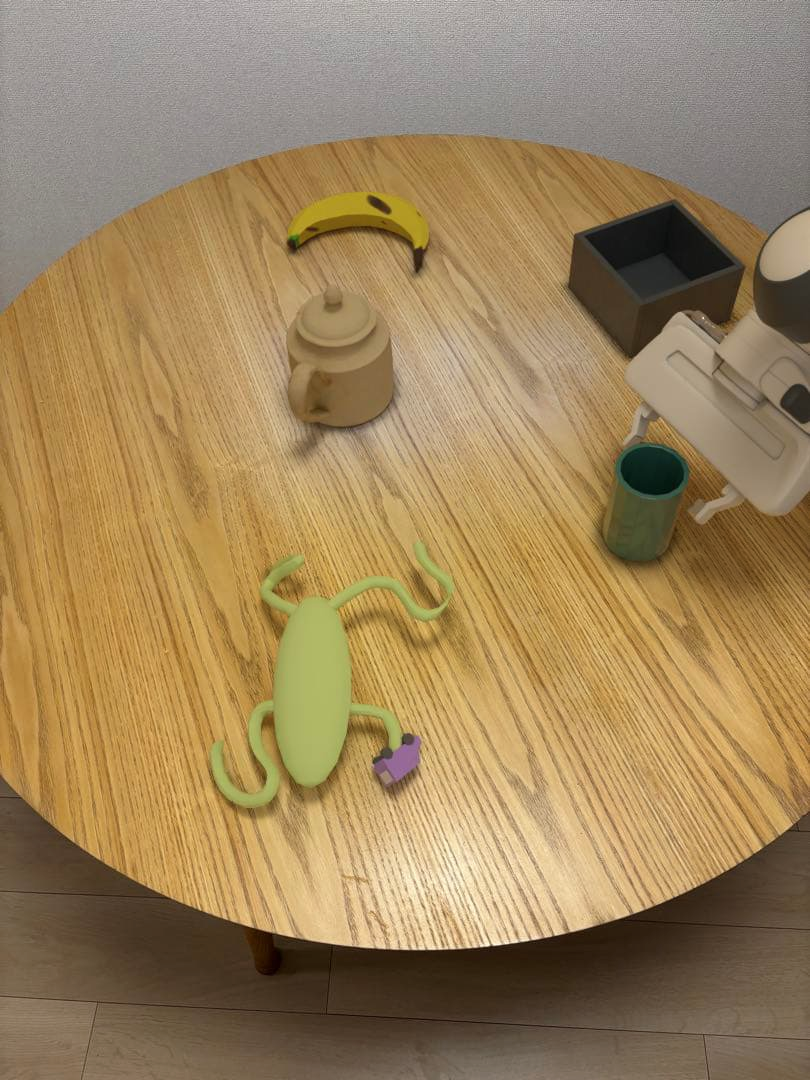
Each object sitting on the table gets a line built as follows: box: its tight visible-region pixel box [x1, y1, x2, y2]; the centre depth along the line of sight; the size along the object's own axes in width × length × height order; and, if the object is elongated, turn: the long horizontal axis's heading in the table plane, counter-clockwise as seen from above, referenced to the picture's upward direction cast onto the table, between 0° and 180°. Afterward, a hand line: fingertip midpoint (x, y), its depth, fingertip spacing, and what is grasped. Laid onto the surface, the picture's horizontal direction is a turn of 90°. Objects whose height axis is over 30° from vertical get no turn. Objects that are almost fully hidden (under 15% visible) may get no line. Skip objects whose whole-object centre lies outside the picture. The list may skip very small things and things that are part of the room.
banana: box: [286, 190, 430, 273], centre depth 124 cm, size 5×17×15 cm
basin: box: [567, 198, 747, 358], centre depth 114 cm, size 14×14×8 cm
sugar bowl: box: [285, 283, 395, 428], centre depth 104 cm, size 15×11×15 cm
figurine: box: [209, 541, 455, 809], centre depth 88 cm, size 18×27×6 cm
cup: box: [601, 441, 691, 563], centre depth 94 cm, size 7×7×10 cm
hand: (660, 484), depth 92 cm, fingers open, 8 cm apart
